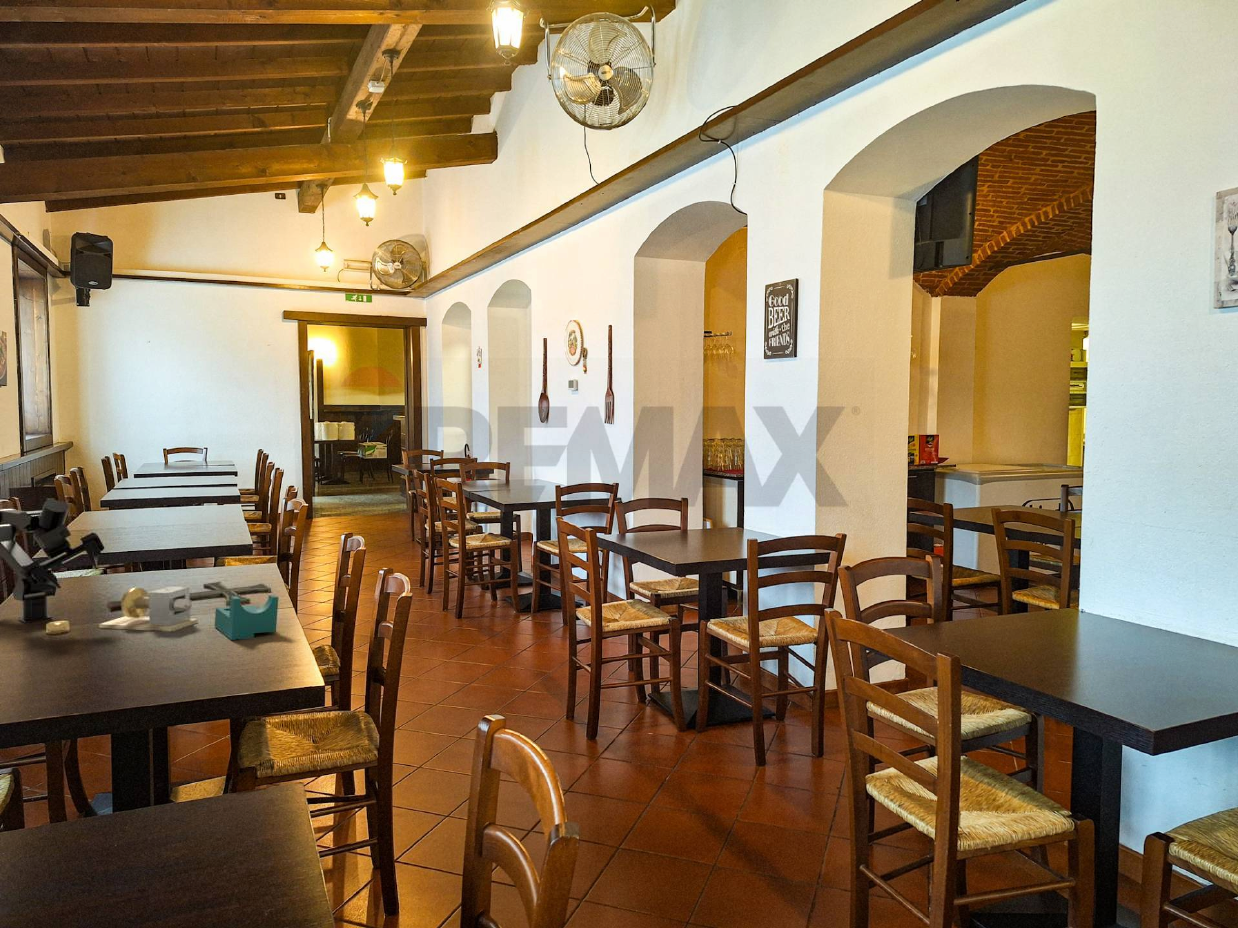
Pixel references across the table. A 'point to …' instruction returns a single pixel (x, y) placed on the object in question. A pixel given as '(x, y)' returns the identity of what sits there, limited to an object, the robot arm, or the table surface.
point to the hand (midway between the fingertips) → (78, 577)
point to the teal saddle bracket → (246, 618)
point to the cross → (214, 593)
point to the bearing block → (167, 606)
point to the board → (142, 624)
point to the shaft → (146, 603)
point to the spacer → (57, 627)
